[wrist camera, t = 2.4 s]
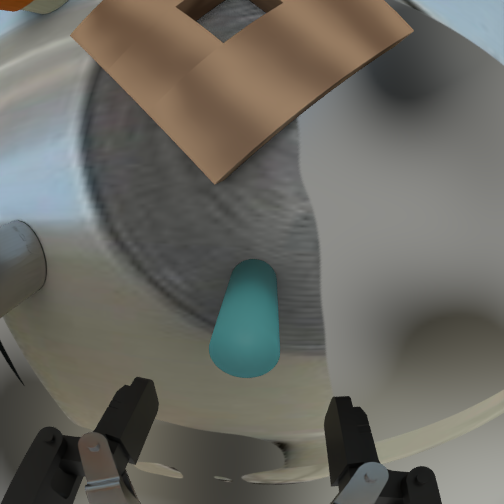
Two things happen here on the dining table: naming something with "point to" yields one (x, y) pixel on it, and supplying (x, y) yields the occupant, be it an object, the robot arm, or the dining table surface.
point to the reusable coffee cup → (32, 5)
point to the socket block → (234, 66)
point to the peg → (248, 322)
